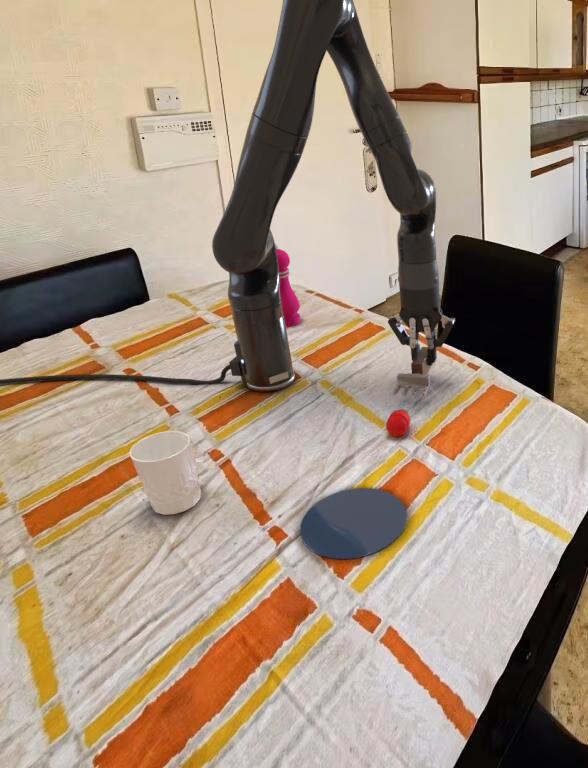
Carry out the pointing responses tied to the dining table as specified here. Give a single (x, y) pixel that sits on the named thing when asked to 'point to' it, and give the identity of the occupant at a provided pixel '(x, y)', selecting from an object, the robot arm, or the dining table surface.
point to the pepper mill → (287, 290)
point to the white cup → (167, 471)
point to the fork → (415, 375)
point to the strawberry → (398, 422)
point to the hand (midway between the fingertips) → (424, 363)
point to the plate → (353, 523)
